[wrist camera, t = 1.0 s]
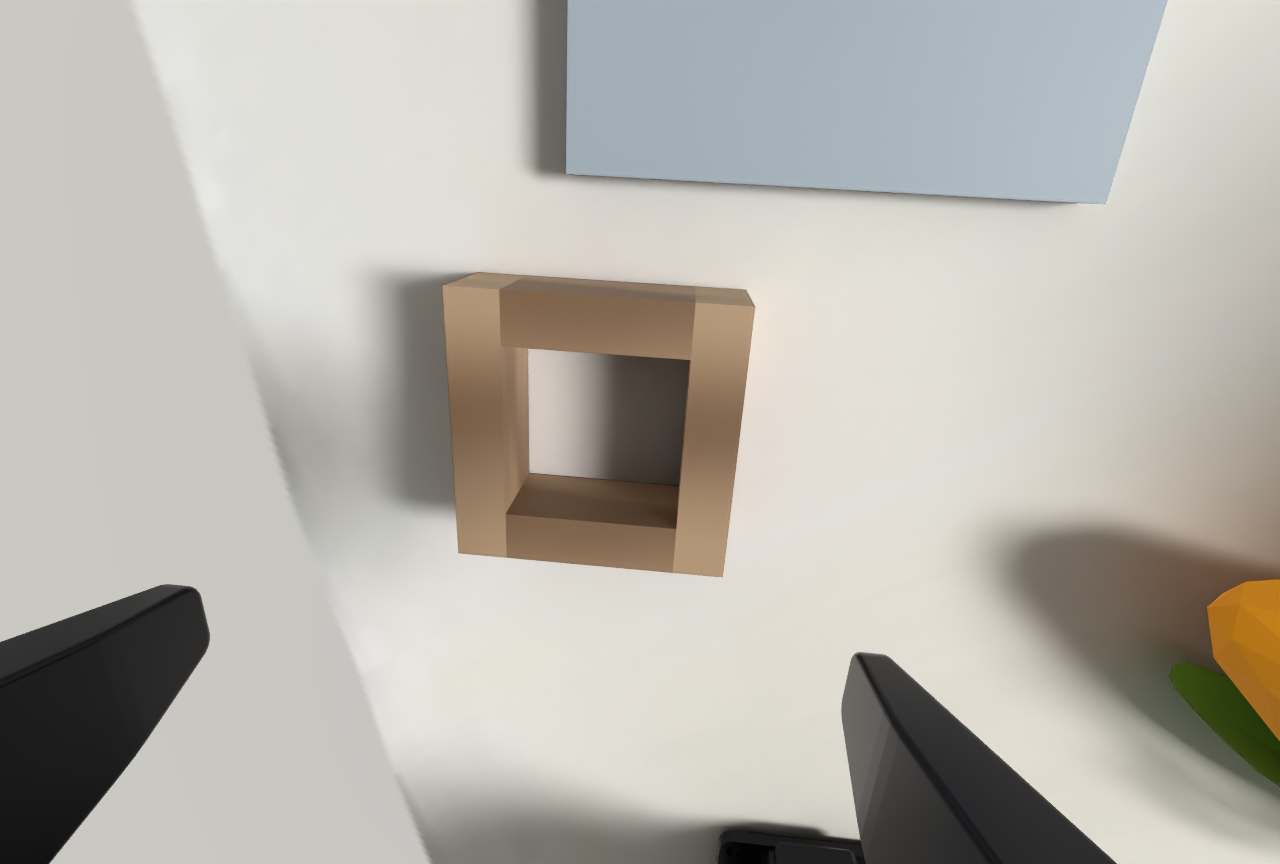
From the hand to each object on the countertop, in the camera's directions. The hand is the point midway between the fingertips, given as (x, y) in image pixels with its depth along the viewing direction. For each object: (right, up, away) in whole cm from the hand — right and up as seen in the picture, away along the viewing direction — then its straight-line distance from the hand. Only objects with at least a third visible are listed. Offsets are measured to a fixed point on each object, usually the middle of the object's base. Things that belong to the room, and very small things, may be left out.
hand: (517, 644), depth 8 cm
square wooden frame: (+1, +4, +9) cm, 10 cm away
